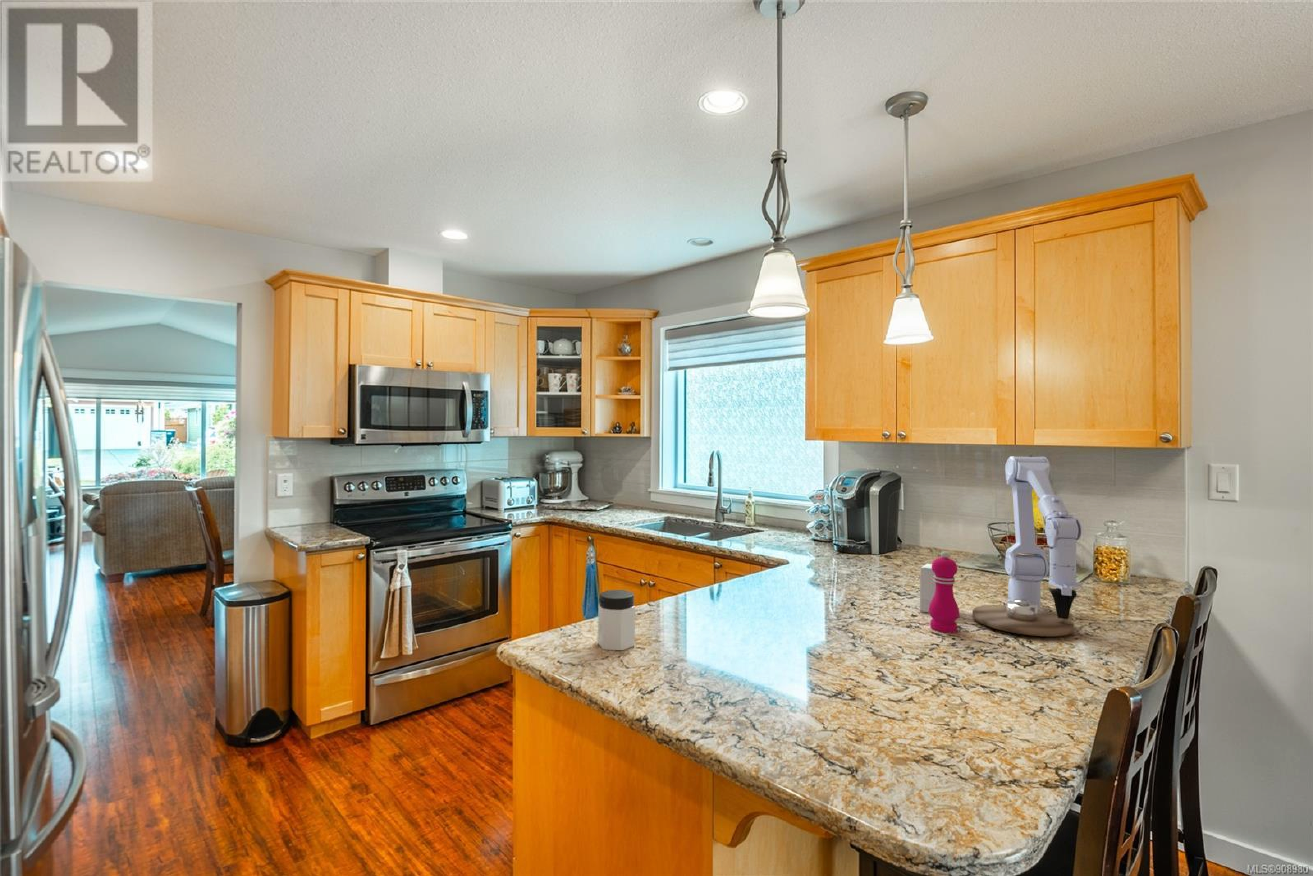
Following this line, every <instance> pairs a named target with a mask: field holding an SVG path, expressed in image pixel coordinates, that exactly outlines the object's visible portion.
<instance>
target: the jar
mask: <svg viewBox="0 0 1313 876" xmlns="http://www.w3.org/2000/svg"><path fill="white" fill-rule="evenodd" d="M598 599H599V600H598V602H599V603H598V606H597V607H598V612H597V613H598V614H597V617H598V618H597V619H598V621H597V622H598V623H597V625H598V626H597V627H598V628H597V631H598V632H597V635H598V636H597V643H598V644H599V646H600V648H601V650H604V649H605V650H606V651H615V650H622V651H625V650H628V649H630V648H633V646H634V647H635V646H636V606H635V594H634V593H633V592H632V591H631V590H630V591H629V590H627V589H611V590H610V589H609V590H605V591H602V592H600V593H599V598H598ZM605 650H604V651H605Z"/></svg>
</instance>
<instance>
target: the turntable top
mask: <svg viewBox="0 0 1313 876" xmlns="http://www.w3.org/2000/svg"><path fill="white" fill-rule="evenodd" d="M1006 614H1007V604H1006V605H1002V604H995V605H994V604H990V605H989V604H987V605H981V606H977V607H974V608H973V609H972V615H971V616H972V618H973V619H974V620H975V621H977V622H979V623H980V624H982V625H984V626H987V627H988V628H989V627H990V628H992V629H996V630H1000V631H1003V632H1008V633H1014V634H1019V635H1025V636H1027V635H1028V636H1035V637H1063V636H1068V635H1071V634H1073V633H1074V632H1075V624H1074V622H1073V613H1071V612H1070V613H1069V617H1068V619H1062V618H1058V616H1057V613H1053V612H1050V611H1049V612H1048V611H1046V610H1045V611H1042V610H1038V611H1037V621H1034V622H1026V621H1018V620H1014V619H1011V618H1009V617H1007V616H1006Z"/></svg>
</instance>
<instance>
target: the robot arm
mask: <svg viewBox="0 0 1313 876" xmlns="http://www.w3.org/2000/svg"><path fill="white" fill-rule="evenodd" d="M1004 468H1005V480H1006V485H1007V486H1009V487H1011V491H1012V503H1013V505H1012V506H1013V519H1014V534H1015V543H1014V544H1013V545H1012V546H1010V547H1009V548H1007V549H1006V551H1005V559H1004V568H1005V572H1006V573H1007V574H1008V576H1009V577H1010V578H1009V580H1008V583H1007V586H1008V587H1007V600H1006V601H1005V600H1004V604H1006V605H1007V602H1008V601H1014V599H1025V600H1028V601H1030V603H1032V604H1035V605H1037V606H1038V610H1042V611H1046V610H1045V609H1043V608H1042V607H1041V600H1042V599H1041V595H1042V594H1041V593H1042V591H1041V589H1042V586H1041V585H1042V581H1044V578H1046V577H1047V575H1049V580H1048V585H1050V586H1052V587H1054V588H1049V590H1048V591H1049V592H1050V594H1051V596H1052V599H1053V602H1054V606H1055V611H1056V612H1055V614H1056V615H1057V616H1058V618H1062V619H1068V617H1069V613H1071V607H1072V604H1073V603H1074V602H1073V601H1074V599H1076V597H1077V595H1078V594H1077V591H1076V590H1075V589H1076V588H1082V587H1083V584H1082V583H1081V582H1077V542H1078V541H1079V540H1080V539H1081V536H1082V526H1081V525H1082V524H1081V523H1080V520H1079V519H1078V518H1077V517H1074V515H1072V514H1070V513H1069V511H1068V508H1067V506H1066V505H1065V503H1064V501H1063V499H1062V498H1061V497H1060V496H1059V495H1055V493H1054V490H1053V487H1052V485H1051V482H1050V479H1049V476H1050V472H1051V471H1050V470H1051V464H1050V461H1049V460H1048V457H1046V456H1014V455H1011V456H1009V457H1008V458H1007V460H1006V463H1005V466H1004ZM1032 491H1034V492H1035V494H1036V495H1037V497H1038V498H1039V500H1038V501H1037V506H1038V510H1039V511H1040V512H1041V515H1042V517H1043V520H1044V521H1045V525H1044V533H1045V535H1046V543H1047V546H1049V560H1047V554H1046V551H1045V550H1044V549H1042V548H1041V547H1039V545H1037V544H1036V532H1035V531H1036V529H1035V519H1034V518H1035V517H1034V501H1033V493H1032ZM1025 554H1026V555H1025ZM1029 554H1031V555H1029ZM1048 561H1049V562H1048Z"/></svg>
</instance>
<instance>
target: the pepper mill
mask: <svg viewBox="0 0 1313 876" xmlns="http://www.w3.org/2000/svg"><path fill="white" fill-rule="evenodd" d="M940 556H941V557H937V558H935V559H933V561H932V563H931V564H932V571H933V572H934V573H935V575H934V581H935V584H936V589H935V594H934V596H933V598H932V600H931V602H930V605H929V613H928V615H929V616H930V617H931V618H932V619H930V622H929V623H930V627H929V628H931V630H934V631H937V632H940V633H949V632H951V633H956V632H957V630H958V623H957V622H956V621H957V620H958V619H959V617H960V608H959V605H958V604H957V601H956V600H955V599H956V598H955V597H954V584H956V581H955V580H956V577H955V575H956V574H957V572H958V564H957V563H956V561H954V560H953V559H952V558H950V557H949V553H948V552H947V551H942V552H941V553H940Z"/></svg>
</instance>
